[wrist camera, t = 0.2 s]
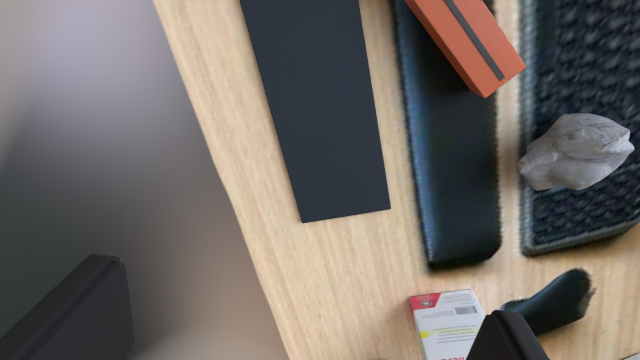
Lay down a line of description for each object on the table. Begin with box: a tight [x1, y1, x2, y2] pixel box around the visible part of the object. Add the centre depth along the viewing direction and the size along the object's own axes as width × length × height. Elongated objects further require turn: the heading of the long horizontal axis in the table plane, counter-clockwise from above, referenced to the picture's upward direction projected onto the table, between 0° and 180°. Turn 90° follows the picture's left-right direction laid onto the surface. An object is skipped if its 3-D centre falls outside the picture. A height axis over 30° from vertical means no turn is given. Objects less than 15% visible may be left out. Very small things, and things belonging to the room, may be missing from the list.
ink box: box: [409, 289, 485, 360], centre depth 43 cm, size 9×5×12 cm, turn 101°
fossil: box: [517, 113, 634, 191], centre depth 34 cm, size 11×9×8 cm
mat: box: [240, 0, 391, 223], centre depth 38 cm, size 26×11×1 cm, turn 12°
